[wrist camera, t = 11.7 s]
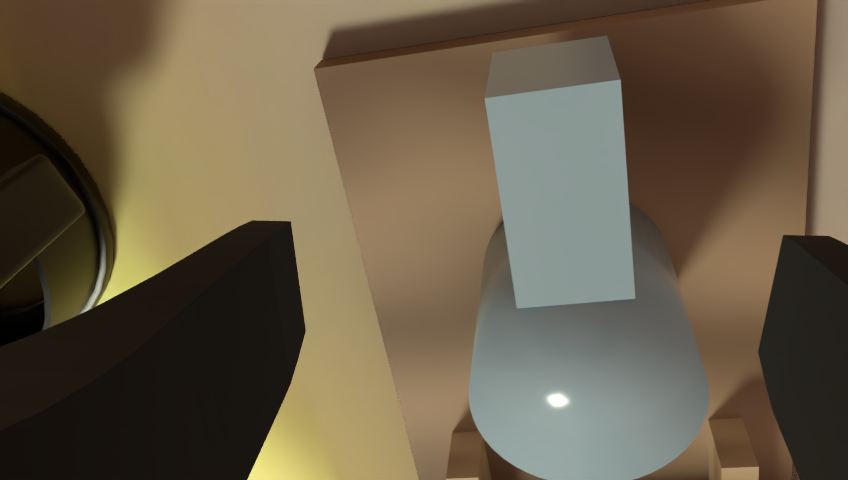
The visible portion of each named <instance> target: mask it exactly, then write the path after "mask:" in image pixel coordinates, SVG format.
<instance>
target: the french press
mask: <svg viewBox="0 0 848 480" xmlns="http://www.w3.org/2000/svg"><path fill="white" fill-rule="evenodd" d="M31 260H33V261H34V263H35V266H36V268H37V271H38V275H39V278H40V282H41V286H42V289H43V293H44V299H43V300H42V301H40V302H38V303H37V304H33V305H30V306H27V307H24V308H19V309H8V310H0V346H3V345H6V344H9V343H12V342H15V341H17V340H20V339H23V338H25V337H28V336H30V335H33V334H35V333H38V332H40V331H43V330H45V329H47V328H50V327H52V326H54V325H57V324H59V323H61V322H64V321H66V320H68V319H71V318H73V317H75V316H77V315H79V314H81V313H83V312H86V311H88V310H90V309H92V308H94V307H95V306H96V305H97V303H98V302H99V300H100V298H101V296H102V294H103V293H104V291H105V289H106V287H107V285H108V281H109V277H110V273H111V269H112V265H113V234H112V230H111V225H110V220H109V216H108V212H107V209H106V207H105V205H104V202H103V200H102V197H101V195H100V193H99V190H98V188H97V186H96V184H95V182H94V181H93V179H92V178H91V176H90V174H89V173H88V171H87V170H86V168H85V167H84V165H83V163H82V162H81V160H80V159H79V158H78V156H77V155H76V154H75V153H74V152H73V151H72V150H71V148H70V147H69V146H68V145H67V144H66V143H65V142H64V140H63V139H62V138H61V137H60V136H59V135H58V134H57V133H56V132H55V131H54V130H53V129H52V128H50V127H49V126H48V125H47V124H46V123H45V122H43V121H42V120H41V119H40V118H39V117H38V116H36V115H35V114H34V113H33V112H32V111H30V110H28V109H27V108H25V107H24V106H22V105H21V104H19V103H17V102H16V101H14V100H13V99H11V98H9V97H8V96H6V95H5V94H3V93H1V92H0V288H1V287H2V286H4V285H5V284H6V283H7V282H8V281H9V280H10V279H11V278H12V277H14V276H15V275H16V274H17V273H18V272H19V271H20V270H21V269H23V268H24V267H25V266H26V265H27V264H28V263H29V262H30V261H31Z"/></svg>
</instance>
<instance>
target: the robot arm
mask: <svg viewBox="0 0 848 480" xmlns="http://www.w3.org/2000/svg"><path fill="white" fill-rule="evenodd" d="M305 331H306V330H305V323H304V316H303V308H302V301H301V294H300V286H299V279H298V272H297V264H296V257H295V250H294V242H293V235H292V228H291V222H289V221H250V222H248V223H246V224H243V225H241V226H239V227H237V228H236V229H234V230H232V231H230V232H228V233H226V234H225V235H223V236H221V237H219V238H218V239H216V240H214V241H213V242H211V243H209V244H208V245H206V246H204V247H202V248H201V249H199V250H197V251H196V252H194V253H192V254H191V255H189V256H187V257H185V258H184V259H182V260H180V261H179V262H177V263H175V264H174V265H172V266H170V267H168V268H167V269H165V270H163V271H162V272H160V273H158V274H156V275H155V276H153V277H151V278H149V279H147V280H145V281H143V282H141V283H140V284H138V285H136V286H134V287H132V288H130V289H128V290H127V291H125V292H123V293H121V294H119V295H117V296H115V297H113V298H112V299H110V300H108V301H106V302H104V303H102V304H100V305H98V306H96V307H94V308H92V309H90V310H88V311H86V312H83V313H81V314H79V315H77V316H75V317H73V318H71V319H68V320H66V321H64V322H61V323H59V324H57V325H54V326H52V327H50V328H47V329H45V330H43V331H40V332H38V333H35V334H33V335H30V336H28V337H25V338H23V339H20V340H17V341H15V342H12V343H9V344H6V345H3V346H0V480H247V479H248V477H249V474H250V472H251V470H252V468H253V466H254V463H255V461H256V459H257V457H258V455H259V453H260V450H261V448H262V446H263V444H264V442H265V440H266V437H267V435H268V433H269V431H270V429H271V427H272V424H273V422H274V420H275V418H276V415H277V413H278V411H279V409H280V407H281V404H282V402H283V400H284V398H285V395H286V393H287V391H288V388H289V386H290V384H291V380H292V377H293V374H294V371H295V367H296V364H297V361H298V357H299V353H300V350H301V346H302V342H303V339H304V335H305ZM758 354H759V358H760V363H761V367H762V371H763V376H764V380H765V384H766V388H767V392H768V396H769V400H770V403H771V407H772V411H773V413H774V416H775V419H776V421H777V424H778V426H779V429H780V431H781V433H782V436H783V438H784V441H785V443H786V446H787V448H788V451H789V453H790V455H791V458H792V460H793V463H794V465H795V467H796V470H797V472H798V475H799V477H800V479H801V480H848V245H847V244H845V243H843V242H841V241H839V240H837V239H834V238H832V237H830V236H806V235H783V238H782V242H781V247H780V252H779V256H778V261H777V266H776V270H775V275H774V280H773V284H772V289H771V293H770V298H769V303H768V307H767V312H766V317H765V321H764V326H763V331H762V335H761V340H760V345H759V349H758Z"/></svg>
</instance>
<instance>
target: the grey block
mask: <svg viewBox="0 0 848 480" xmlns="http://www.w3.org/2000/svg"><path fill="white" fill-rule="evenodd" d="M485 104H486V111H487V117H488V124H489V130H490V137H491V143H492V150H493V156H494V163H495V169H496V176H497V182H498V189H499V195H500V202H501V208H502V215H503V222H502V223H501V224H500V225H499V227H498V228H497V229H496V231H495V232H494V234H493V236H492V237H491V239H490V241H489V244H488V246H487V249H486V252H485V257H484V261H483V270H482V278H481V287H480V296H479V304H478V313H477V321H476V330H475V339H474V347H473V356H472V365H471V373H470V382H469V404H470V410H471V413H472V417H473V420H474V422H475V424H476V426H477V428H478V430H479V432H480V433H481V435H482V436H483V438H484V439H485V441H486V442H487V443H488V444H489V445H490V446H491V448H492V449H493V450H494V451H495V452H497V453H498V454H499V455H500V456H501V457H502V458H504V459H505V460H506V461H508V462H509V463H511V464H512V465H514V466H515V467H517V468H519V469H521V470H523V471H525V472H527V473H529V474H532V475H534V476H537V477H539V478H542V479H546V480H634V479H637V478H640V477H643V476H645V475H648V474H650V473H652V472H654V471H656V470H658V469H660V468H662V467H664V466H665V465H667V464H668V463H670V462H671V461H673V460H674V459H675V458H677V457H678V456H679V455H680V454H681V453H682V452H683V451H685V450H686V448H687V447H688V446H689V445H690V444H691V443H692V441H693V440H694V439H695V437H696V436H697V434H698V433H699V431H700V429H701V427H702V425H703V423H704V420H705V418H706V414H707V410H708V405H709V387H708V380H707V377H706V373H705V370H704V366H703V363H702V360H701V356H700V353H699V350H698V346H697V343H696V340H695V336H694V333H693V330H692V326H691V323H690V320H689V316H688V313H687V310H686V306H685V303H684V300H683V296H682V293H681V290H680V286H679V283H678V280H677V276H676V273H675V270H674V266H673V263H672V260H671V256H670V253H669V250H668V246H667V243H666V241H665V239H664V237H663V235H662V233H661V231H660V230H659V228H658V227H657V226H656V224H655V223H654V222H653V221H652V220H651V219H650V218H649V216H647V215H646V214H645V213H644V212H643V211H641V210H640V209H639V208H637V207H636V206H634V205H633V204H631V203H629V196H628V181H627V166H626V151H625V136H624V121H623V106H622V91H621V79H620V76H619V72H618V69H617V66H616V63H615V60H614V56H613V53H612V50H611V47H610V44H609V40H608V37H607V36H601V37H594V38H587V39H580V40H574V41H567V42H560V43H554V44H547V45H540V46H533V47H527V48H520V49H513V50H507V51H500V52H493V54H492V59H491V65H490V71H489V76H488V82H487V88H486V93H485Z"/></svg>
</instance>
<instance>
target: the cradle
mask: <svg viewBox="0 0 848 480" xmlns="http://www.w3.org/2000/svg"><path fill="white" fill-rule="evenodd" d="M816 18H817V0H709V1H703V2H696V3H690V4H683V5H677V6H670V7H664V8H657V9H651V10H644V11H638V12H631V13H625V14H618V15H612V16H605V17H599V18H592V19H586V20H579V21H573V22H566V23H560V24H553V25H547V26H540V27H534V28H527V29H521V30H514V31H508V32H501V33H495V34H488V35H482V36H475V37H469V38H462V39H456V40H449V41H443V42H436V43H430V44H423V45H417V46H410V47H404V48H397V49H391V50H384V51H378V52H371V53H365V54H358V55H352V56H345V57H339V58H332V59H326V60H321V61H320V62H319V63H318V65H317V66H316V67H315V68H314V72H315V76H316V80H317V84H318V88H319V92H320V95H321V99H322V103H323V107H324V111H325V115H326V119H327V123H328V127H329V131H330V134H331V138H332V142H333V146H334V150H335V154H336V158H337V162H338V166H339V169H340V173H341V177H342V181H343V185H344V189H345V193H346V197H347V201H348V205H349V208H350V212H351V216H352V220H353V224H354V228H355V232H356V236H357V240H358V244H359V247H360V251H361V255H362V259H363V263H364V267H365V271H366V275H367V279H368V282H369V286H370V290H371V294H372V298H373V302H374V306H375V310H376V314H377V318H378V321H379V325H380V329H381V333H382V337H383V341H384V345H385V349H386V353H387V357H388V360H389V364H390V368H391V372H392V376H393V380H394V384H395V388H396V392H397V395H398V399H399V403H400V407H401V411H402V415H403V419H404V423H405V427H406V431H407V434H408V438H409V442H410V446H411V450H412V454H413V458H414V462H415V466H416V470H417V473H418V477H419V480H546V479H542V478H539V477H537V476H534V475H532V474H529V473H527V472H525V471H523V470H521V469H519V468H517V467H515V466H514V465H512V464H511V463H509V462H508V461H506V460H505V459H504V458H502V457H501V456H500V455H499V454H498V453H497V452H495V451H494V450H493V449H492V448H491V446H490V445H489V444H488V443H487V442H486V441H485V439H484V438H483V436H482V435H481V433H480V432H479V430H478V428H477V426H476V424H475V422H474V420H473V417H472V413H471V410H470V404H469V382H470V373H471V365H472V356H473V347H474V339H475V330H476V321H477V313H478V304H479V296H480V287H481V278H482V270H483V261H484V257H485V252H486V249H487V246H488V244H489V241H490V239H491V237H492V236H493V234H494V232H495V231H496V229H497V228H498V227H499V225H500V224H501V223H502V222H503V215H502V208H501V202H500V195H499V189H498V182H497V176H496V169H495V163H494V156H493V150H492V143H491V137H490V130H489V124H488V117H487V111H486V104H485V93H486V88H487V82H488V76H489V71H490V65H491V59H492V54H493V52H500V51H507V50H513V49H520V48H527V47H533V46H540V45H547V44H554V43H560V42H567V41H574V40H580V39H587V38H594V37H601V36H607V37H608V40H609V44H610V47H611V50H612V53H613V56H614V60H615V63H616V66H617V69H618V72H619V76H620V79H621V91H622V106H623V121H624V136H625V151H626V166H627V181H628V196H629V203H631V204H633V205H634V206H636V207H637V208H639V209H640V210H641V211H643V212H644V213H645V214H646V215H647V216H649V218H650V219H651V220H652V221H653V222H654V223H655V224H656V226H657V227H658V228H659V230H660V231H661V233H662V235H663V237H664V239H665V241H666V243H667V246H668V250H669V253H670V256H671V260H672V263H673V266H674V270H675V273H676V276H677V280H678V283H679V286H680V290H681V293H682V296H683V300H684V303H685V306H686V310H687V313H688V316H689V320H690V323H691V326H692V330H693V333H694V336H695V340H696V343H697V346H698V350H699V353H700V356H701V360H702V363H703V366H704V370H705V373H706V377H707V380H708V387H709V405H708V410H707V414H706V418H705V420H704V423H703V425H702V427H701V429H700V431H699V433H698V434H697V436H696V437H695V439H694V440H693V441H692V443H691V444H690V445H689V446H688V447H687V448H686V450H685V451H683V452H682V453H681V454H680V455H679V456H678V457H677V458H675V459H674V460H673V461H671V462H670V463H668V464H667V465H665V466H664V467H662V468H660V469H658V470H656V471H654V472H652V473H650V474H648V475H645V476H643V477H640V478H637V479H634V480H792V465H793V460H792V458H791V455H790V453H789V451H788V448H787V446H786V443H785V441H784V438H783V436H782V433H781V431H780V429H779V426H778V424H777V421H776V419H775V416H774V413H773V411H772V407H771V403H770V400H769V396H768V392H767V388H766V384H765V380H764V376H763V371H762V367H761V363H760V358H759V354H758V349H759V345H760V340H761V335H762V331H763V326H764V321H765V317H766V312H767V307H768V303H769V298H770V293H771V289H772V284H773V280H774V275H775V270H776V266H777V261H778V256H779V252H780V247H781V242H782V238H783V235H805V223H806V204H807V185H808V167H809V148H810V130H811V111H812V92H813V74H814V55H815V37H816Z"/></svg>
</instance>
